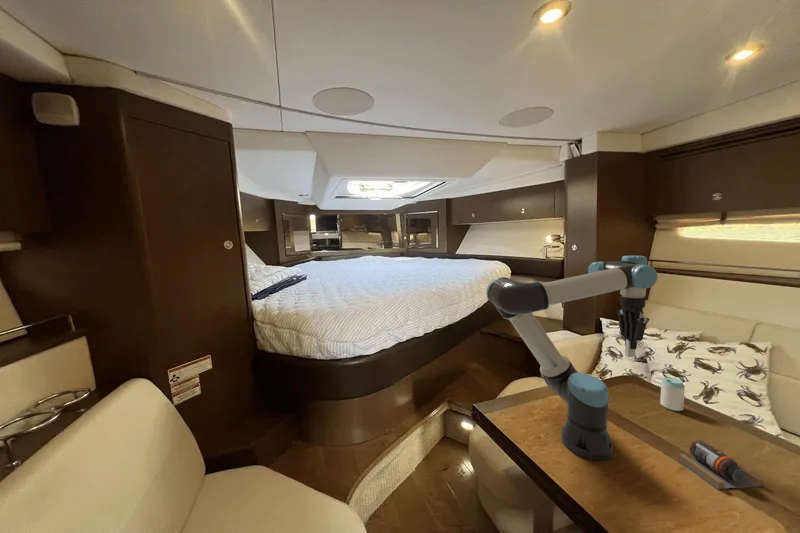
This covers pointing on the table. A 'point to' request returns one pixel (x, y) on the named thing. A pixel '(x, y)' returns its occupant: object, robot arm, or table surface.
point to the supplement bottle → (717, 460)
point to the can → (672, 394)
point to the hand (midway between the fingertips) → (630, 356)
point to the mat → (716, 478)
